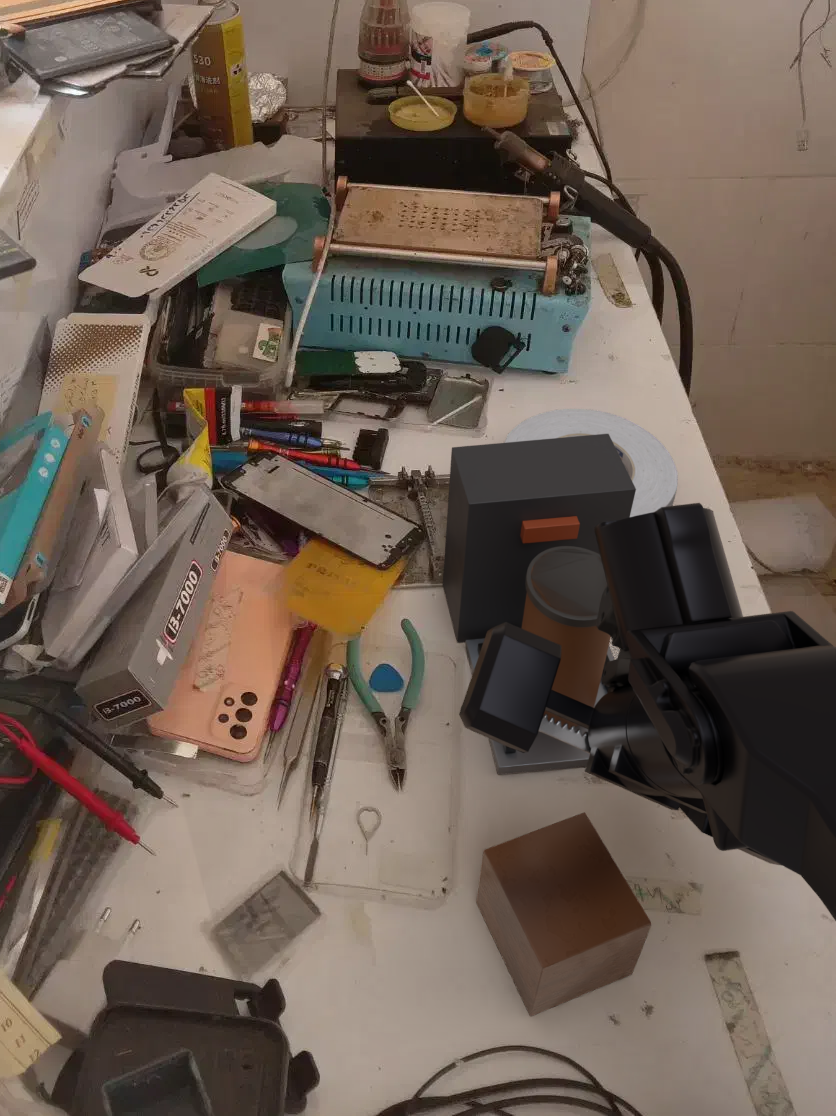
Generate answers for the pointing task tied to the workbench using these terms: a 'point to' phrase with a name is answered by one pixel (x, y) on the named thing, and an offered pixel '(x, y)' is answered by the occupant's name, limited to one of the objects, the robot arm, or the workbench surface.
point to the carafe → (569, 617)
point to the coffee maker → (522, 518)
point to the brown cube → (560, 913)
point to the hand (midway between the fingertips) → (590, 743)
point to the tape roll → (631, 441)
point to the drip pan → (544, 748)
